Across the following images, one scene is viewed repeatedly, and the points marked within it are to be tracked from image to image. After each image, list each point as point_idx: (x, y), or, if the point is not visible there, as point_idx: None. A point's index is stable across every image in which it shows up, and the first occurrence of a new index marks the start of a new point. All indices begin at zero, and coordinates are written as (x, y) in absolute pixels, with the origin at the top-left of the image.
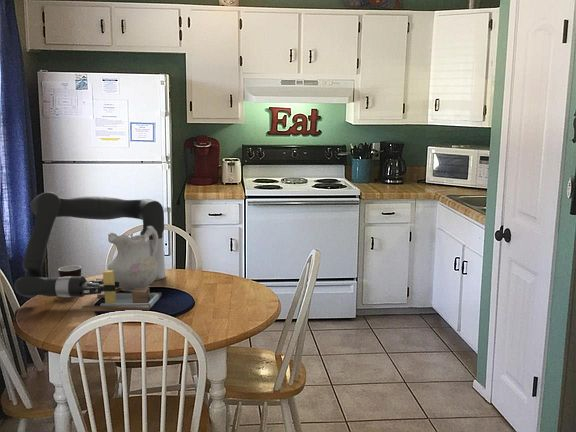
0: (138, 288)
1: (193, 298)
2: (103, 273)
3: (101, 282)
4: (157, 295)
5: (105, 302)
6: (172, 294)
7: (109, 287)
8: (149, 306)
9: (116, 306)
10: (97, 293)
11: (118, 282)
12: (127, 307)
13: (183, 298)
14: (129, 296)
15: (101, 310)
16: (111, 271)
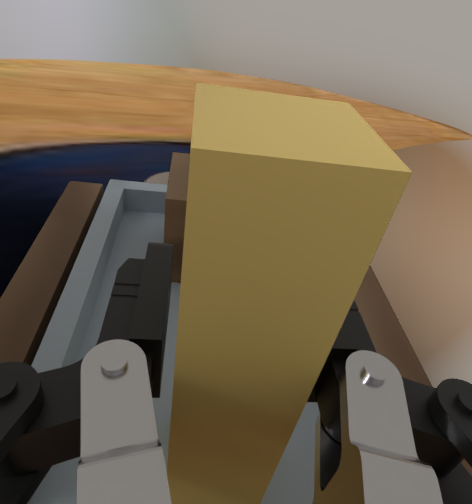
0: (187, 187)
1: (108, 142)
2: (395, 191)
3: (163, 472)
4: (151, 183)
5: (261, 495)
6: (3, 185)
7: (354, 303)
8: None
9: (385, 338)
10: (459, 478)
11: (166, 244)
12: (375, 277)
13: (98, 160)
14: (82, 321)
15: None
16: (297, 98)
